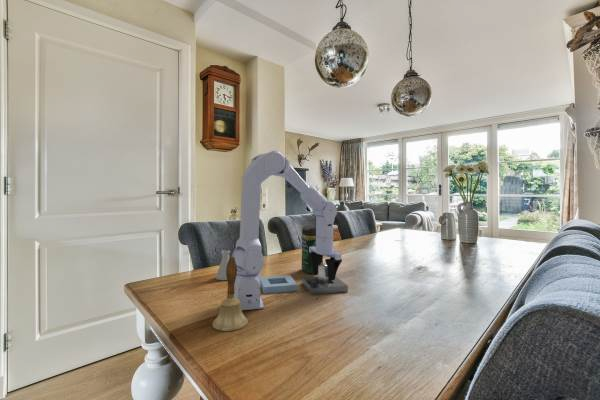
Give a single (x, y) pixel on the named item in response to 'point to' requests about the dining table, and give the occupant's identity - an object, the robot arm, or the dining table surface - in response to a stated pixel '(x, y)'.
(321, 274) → the steel peg
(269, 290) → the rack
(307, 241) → the coffee jar
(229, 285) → the hand bell
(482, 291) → the dining table surface
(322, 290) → the socket block
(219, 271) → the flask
